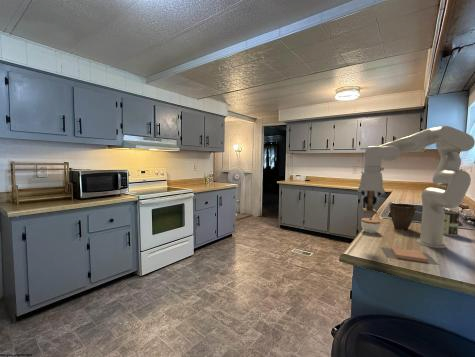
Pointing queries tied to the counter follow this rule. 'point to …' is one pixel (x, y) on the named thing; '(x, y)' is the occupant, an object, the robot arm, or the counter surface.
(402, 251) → the tile
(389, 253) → the mat
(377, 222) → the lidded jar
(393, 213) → the plant pot
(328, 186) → the counter surface
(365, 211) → the wooden pedestal stand
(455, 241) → the counter surface
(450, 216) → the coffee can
